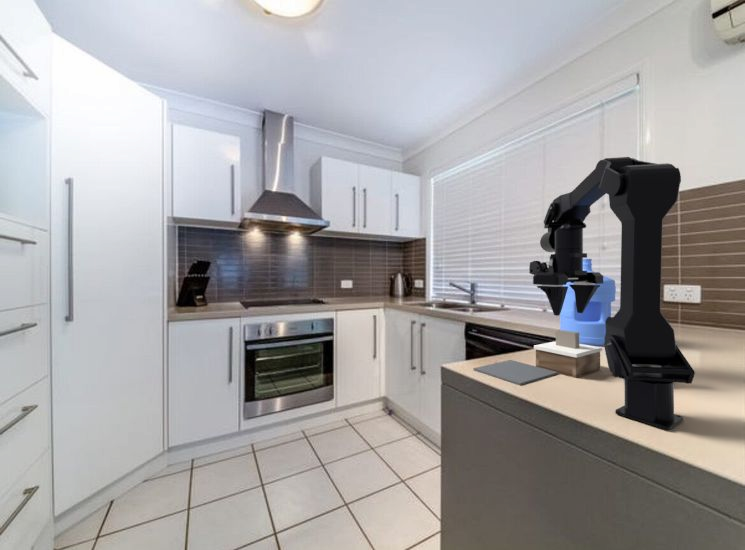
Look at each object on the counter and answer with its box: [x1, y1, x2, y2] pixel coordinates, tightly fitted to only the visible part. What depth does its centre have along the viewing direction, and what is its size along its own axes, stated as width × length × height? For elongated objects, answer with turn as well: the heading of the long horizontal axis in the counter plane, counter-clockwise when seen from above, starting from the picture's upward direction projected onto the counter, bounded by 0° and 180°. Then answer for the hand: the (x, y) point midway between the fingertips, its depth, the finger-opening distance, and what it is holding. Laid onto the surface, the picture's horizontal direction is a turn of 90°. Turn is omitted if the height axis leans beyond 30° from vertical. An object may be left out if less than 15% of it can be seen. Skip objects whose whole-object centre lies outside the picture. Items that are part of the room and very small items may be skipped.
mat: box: [473, 359, 559, 386], centre depth 71 cm, size 14×12×1 cm
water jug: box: [559, 258, 617, 347], centre depth 104 cm, size 16×16×28 cm
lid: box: [533, 329, 603, 358], centre depth 73 cm, size 12×10×6 cm
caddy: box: [535, 349, 601, 378], centre depth 73 cm, size 11×9×4 cm
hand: (568, 314), depth 74 cm, fingers open, 9 cm apart
